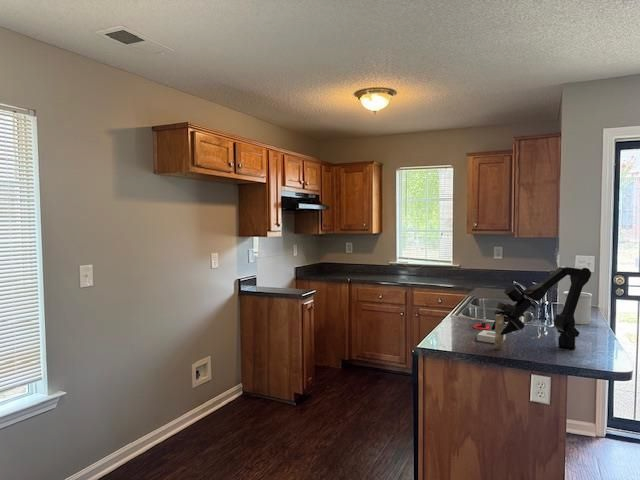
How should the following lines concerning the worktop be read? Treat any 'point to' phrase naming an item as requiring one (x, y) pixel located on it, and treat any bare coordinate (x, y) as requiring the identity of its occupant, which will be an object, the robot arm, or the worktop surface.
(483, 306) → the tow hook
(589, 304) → the utensil holder
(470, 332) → the worktop surface
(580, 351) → the worktop surface
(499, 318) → the pin
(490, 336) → the socket block
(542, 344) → the worktop surface
